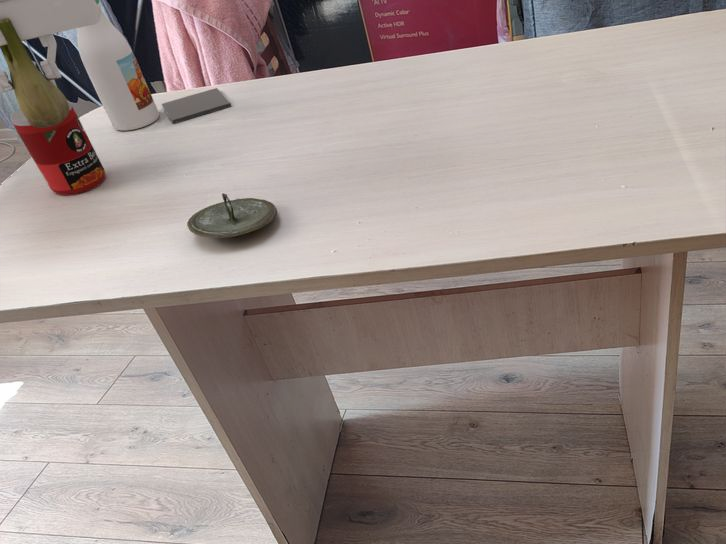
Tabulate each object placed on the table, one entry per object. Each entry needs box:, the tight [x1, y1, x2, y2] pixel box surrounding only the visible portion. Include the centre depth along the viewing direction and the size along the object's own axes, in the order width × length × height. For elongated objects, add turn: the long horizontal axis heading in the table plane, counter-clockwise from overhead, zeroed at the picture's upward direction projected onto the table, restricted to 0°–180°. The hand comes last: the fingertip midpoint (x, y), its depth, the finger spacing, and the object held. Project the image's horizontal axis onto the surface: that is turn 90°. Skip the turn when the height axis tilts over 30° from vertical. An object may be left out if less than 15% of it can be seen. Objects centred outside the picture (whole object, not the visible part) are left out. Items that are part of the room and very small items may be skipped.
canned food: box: [9, 99, 106, 196], centre depth 94 cm, size 8×8×11 cm
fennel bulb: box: [0, 18, 70, 128], centre depth 76 cm, size 6×5×12 cm
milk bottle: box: [76, 0, 160, 131], centre depth 108 cm, size 8×8×20 cm
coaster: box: [161, 87, 232, 125], centre depth 117 cm, size 10×10×1 cm
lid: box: [186, 193, 278, 239], centre depth 81 cm, size 11×10×5 cm
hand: (30, 84), depth 77 cm, fingers closed on fennel bulb, 4 cm apart
